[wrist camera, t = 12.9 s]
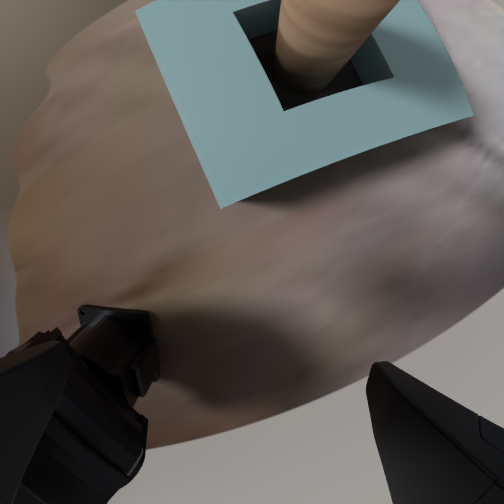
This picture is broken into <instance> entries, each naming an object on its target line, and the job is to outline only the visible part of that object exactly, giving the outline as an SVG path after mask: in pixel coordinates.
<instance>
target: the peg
mask: <svg viewBox="0 0 504 504" xmlns="http://www.w3.org/2000/svg"><path fill="white" fill-rule="evenodd" d="M399 1H400V0H281V7H280V15H279V23H278V31H277V39H276V47H275V55H274V71H275V74H276V76H277V78H278V79H279V81H280V82H281V83H282V84H283V85H284V86H286V87H287V88H289V89H290V90H292V91H295V92H298V93H304V94H311V93H316V92H319V91H321V90H323V89H324V88H326V87H327V86H328V85H329V84H330V83H331V81H332V80H333V79H334V78H335V76H336V75H337V74H338V73H339V71H340V70H341V69H342V68H343V67H344V65H345V64H346V63H347V62H348V61H349V59H350V58H351V57H352V56H353V55H354V53H355V52H356V51H357V50H358V49H359V47H360V46H361V45H362V44H363V43H364V41H365V40H366V39H367V38H368V37H369V36H370V34H371V33H372V32H373V31H374V30H375V29H376V27H377V26H378V25H379V24H380V23H381V22H382V21H383V19H384V18H385V17H386V16H387V15H388V14H389V13H390V11H391V10H392V9H393V8H394V7H395V6H396V5H397V4H398V2H399Z"/></svg>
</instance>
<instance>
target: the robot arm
mask: <svg viewBox="0 0 504 504" xmlns="http://www.w3.org/2000/svg"><path fill="white" fill-rule="evenodd" d="M82 310H83V311H84V312H85V313H84V312H83V311H82ZM78 316H79V320H80V324H81V327H80V328H79V329H78V330H77V331H75V332H74V333H73V334H72V335H71V336H70V337H69V338H68V339H67V340H66V339H65V338H64V337H63V336H62V335H61V334H62V332H61V331H60V330H59V329H58V328H57V327H56V328H55V329H54V330H53V331H51V332H50V331H49V330H48V331H47V332H45V333H42V332H38V333H37V334H35V335H34V336H33V337H32V338H31V339H29V340H28V341H27V342H26V343H24V344H22V345H20V346H19V347H17V348H15V349H13V350H11V351H10V352H9V353H8V354H7V355H6V356H5V357H2V358H0V504H107V502H108V501H109V500H110V499H111V497H112V496H113V495H114V494H115V493H116V492H117V491H118V490H119V489H120V488H122V487H124V486H125V485H127V484H128V483H129V482H130V481H131V480H132V479H133V478H134V477H135V476H136V475H137V473H138V472H139V470H140V468H141V467H142V465H143V462H144V459H145V451H146V439H147V429H148V419H147V418H146V417H145V416H143V415H140V414H139V413H138V412H137V411H136V410H135V409H133V407H134V405H135V403H136V401H137V399H138V397H142V398H143V397H144V396H145V395H146V393H147V391H148V389H149V387H150V385H151V383H152V382H156V381H158V379H159V370H158V369H159V367H160V362H159V356H158V349H157V343H156V340H155V339H154V338H153V334H152V327H151V320H150V316H149V314H148V313H146V312H144V311H134V310H123V309H114V308H104V307H95V306H87V305H82V306H80V307H79V308H78ZM141 317H144V318H145V320H143V319H142V318H141ZM366 395H367V400H368V406H369V411H370V417H371V422H372V428H373V433H374V438H375V442H376V445H377V448H378V452H379V455H380V458H381V462H382V465H383V469H384V473H385V476H386V480H387V483H388V487H389V491H390V495H391V498H392V502H393V504H504V428H502V427H500V426H498V425H496V424H494V423H492V422H490V421H489V420H487V419H485V418H483V417H482V416H478V414H476V413H474V412H473V411H471V410H469V409H467V408H466V407H464V406H462V405H461V404H459V403H457V402H455V401H454V400H452V399H450V398H448V397H447V396H445V395H443V394H442V393H440V392H438V391H437V390H435V389H433V388H431V387H430V386H428V385H426V384H425V383H423V382H421V381H419V380H418V379H416V378H415V377H413V376H411V375H409V374H408V373H406V372H404V371H403V370H401V369H399V368H398V367H396V366H394V365H393V364H391V363H390V362H388V361H382V362H375V363H373V365H372V367H371V370H370V374H369V377H368V381H367V385H366Z"/></svg>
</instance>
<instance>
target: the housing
mask: <svg viewBox="0 0 504 504" xmlns="http://www.w3.org/2000/svg"><path fill="white" fill-rule="evenodd" d="M280 7H281V0H156V1H154V2H152V3H150V4H148V5H146V6H144V7H142V8H140V9H138V10H136V11H135V12H136V15H137V17H138V20H139V22H140V24H141V27H142V29H143V32H144V34H145V36H146V39H147V41H148V43H149V46H150V48H151V50H152V53H153V55H154V57H155V60H156V62H157V64H158V67H159V69H160V71H161V74H162V76H163V78H164V81H165V83H166V85H167V88H168V90H169V92H170V95H171V97H172V99H173V102H174V104H175V106H176V109H177V111H178V113H179V115H180V118H181V120H182V122H183V125H184V127H185V129H186V132H187V134H188V136H189V138H190V141H191V143H192V145H193V148H194V150H195V152H196V154H197V157H198V159H199V161H200V163H201V166H202V168H203V170H204V172H205V175H206V177H207V179H208V182H209V184H210V186H211V188H212V191H213V193H214V195H215V197H216V200H217V202H218V204H219V206H220V208H221V209H222V208H224V207H226V206H228V205H231V204H233V203H235V202H238V201H240V200H242V199H245V198H247V197H249V196H252V195H254V194H257V193H259V192H261V191H264V190H266V189H269V188H271V187H273V186H276V185H278V184H281V183H283V182H286V181H288V180H291V179H293V178H296V177H298V176H301V175H303V174H306V173H308V172H311V171H313V170H316V169H319V168H321V167H324V166H326V165H329V164H332V163H334V162H337V161H340V160H342V159H345V158H348V157H350V156H353V155H356V154H359V153H361V152H364V151H367V150H370V149H372V148H375V147H378V146H381V145H384V144H387V143H390V142H392V141H395V140H398V139H401V138H404V137H407V136H410V135H413V134H416V133H419V132H422V131H425V130H428V129H432V128H435V127H438V126H441V125H444V124H447V123H451V122H454V121H457V120H461V119H464V118H467V117H471V116H474V113H473V110H472V107H471V105H470V102H469V100H468V97H467V94H466V92H465V89H464V87H463V85H462V82H461V80H460V78H459V75H458V73H457V71H456V69H455V67H454V64H453V62H452V60H451V58H450V56H449V54H448V52H447V50H446V48H445V46H444V44H443V42H442V41H441V39H440V37H439V35H438V33H437V31H436V30H435V28H434V26H433V24H432V23H431V21H430V19H429V18H428V16H427V14H426V13H425V11H424V10H423V8H422V6H421V5H420V3H419V2H418V0H400V1H399V2H398V4H397V5H396V6H395V7H394V8H393V9H392V10H391V11H390V13H389V14H388V15H387V16H386V17H385V18H384V19H383V21H382V22H381V23H380V24H379V25H378V26H377V27H376V29H375V30H374V31H373V32H372V33H371V34H370V36H369V37H368V38H367V39H366V40H365V41H364V43H363V44H362V45H361V46H360V47H359V49H358V50H357V51H356V52H355V53H354V55H353V56H352V57H351V58H350V59H351V61H352V63H353V65H354V67H355V69H356V71H357V73H358V75H359V77H360V79H361V81H362V83H363V86H360V87H356V88H353V89H349V90H346V91H343V92H339V93H336V94H333V95H330V96H327V97H324V98H321V99H318V100H315V101H312V102H309V103H306V104H303V105H300V106H297V107H295V108H292V109H289V110H286V111H284V110H283V108H282V106H281V104H280V102H279V100H278V98H277V96H276V94H275V91H274V89H273V87H272V85H271V83H270V81H269V79H268V77H267V75H266V73H265V71H264V69H263V67H262V65H261V63H260V61H259V60H258V58H257V56H256V54H255V52H254V50H253V48H252V46H251V44H250V42H249V41H248V39H251V38H254V37H257V36H260V35H263V34H266V33H269V32H272V31H275V30H278V23H279V15H280Z"/></svg>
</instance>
